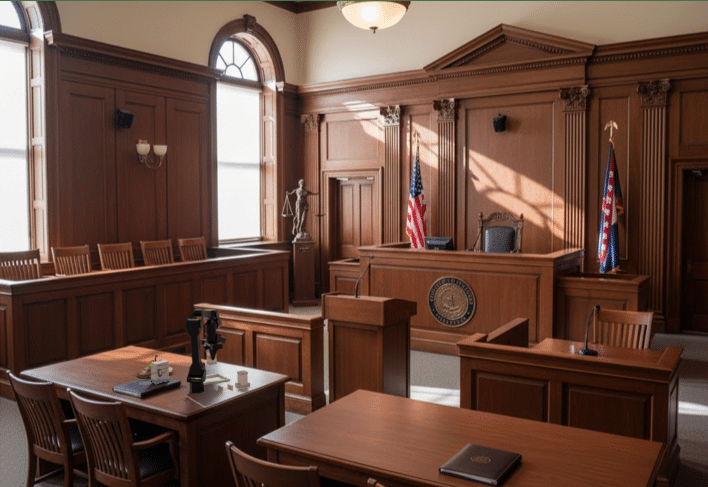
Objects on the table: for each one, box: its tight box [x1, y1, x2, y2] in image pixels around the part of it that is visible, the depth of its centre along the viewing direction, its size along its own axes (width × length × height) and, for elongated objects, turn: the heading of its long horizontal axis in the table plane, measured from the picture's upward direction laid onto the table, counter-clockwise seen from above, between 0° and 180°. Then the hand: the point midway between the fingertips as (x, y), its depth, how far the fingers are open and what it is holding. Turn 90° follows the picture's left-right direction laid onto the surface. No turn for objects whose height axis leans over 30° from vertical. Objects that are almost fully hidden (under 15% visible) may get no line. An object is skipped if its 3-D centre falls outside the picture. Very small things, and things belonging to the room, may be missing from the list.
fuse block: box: [215, 381, 253, 394], centre depth 352 cm, size 18×9×3 cm, turn 126°
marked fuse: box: [206, 349, 218, 366], centre depth 367 cm, size 4×4×8 cm
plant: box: [136, 354, 175, 379], centre depth 386 cm, size 20×20×11 cm
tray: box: [193, 373, 231, 386], centre depth 368 cm, size 15×15×2 cm
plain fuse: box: [236, 370, 249, 388], centre depth 355 cm, size 4×4×8 cm
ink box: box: [150, 359, 170, 382], centre depth 366 cm, size 9×5×12 cm, turn 143°
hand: (211, 359), depth 367 cm, fingers closed on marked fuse, 4 cm apart
